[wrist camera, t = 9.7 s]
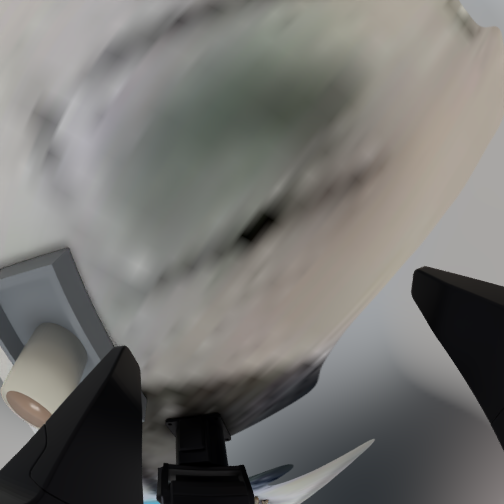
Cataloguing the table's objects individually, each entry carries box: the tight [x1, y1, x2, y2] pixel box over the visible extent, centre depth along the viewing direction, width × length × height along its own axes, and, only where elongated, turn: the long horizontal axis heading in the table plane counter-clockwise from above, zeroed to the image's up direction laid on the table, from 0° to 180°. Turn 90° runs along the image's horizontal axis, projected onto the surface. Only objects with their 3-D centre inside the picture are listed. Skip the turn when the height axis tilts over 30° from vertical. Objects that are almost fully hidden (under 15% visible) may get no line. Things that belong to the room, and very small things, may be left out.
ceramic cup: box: [1, 323, 88, 429], centre depth 17 cm, size 6×6×8 cm
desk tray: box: [0, 248, 147, 422], centre depth 19 cm, size 18×12×3 cm, turn 10°
